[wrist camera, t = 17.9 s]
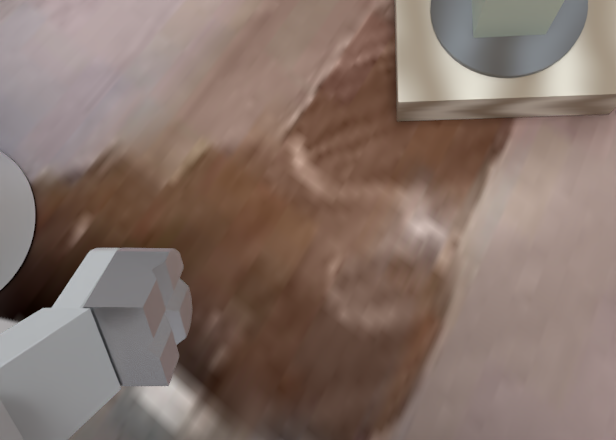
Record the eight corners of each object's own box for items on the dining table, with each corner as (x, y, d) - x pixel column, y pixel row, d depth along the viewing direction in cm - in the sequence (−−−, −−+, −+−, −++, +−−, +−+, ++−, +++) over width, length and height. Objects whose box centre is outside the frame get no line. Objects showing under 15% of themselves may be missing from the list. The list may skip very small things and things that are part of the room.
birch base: (396, 121, 46) (398, 99, 42) (393, -38, 49) (395, -75, 44) (608, 114, 44) (634, 89, 40) (593, -51, 47) (616, -91, 42)
